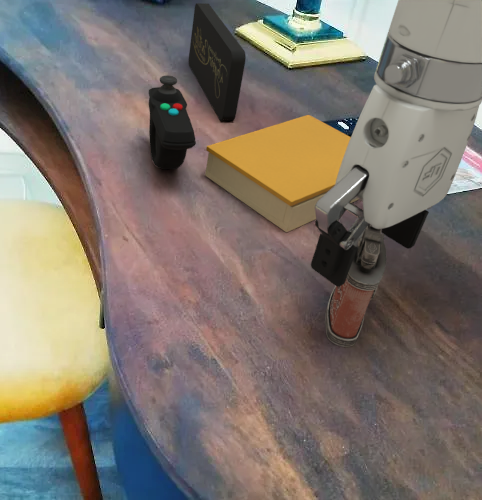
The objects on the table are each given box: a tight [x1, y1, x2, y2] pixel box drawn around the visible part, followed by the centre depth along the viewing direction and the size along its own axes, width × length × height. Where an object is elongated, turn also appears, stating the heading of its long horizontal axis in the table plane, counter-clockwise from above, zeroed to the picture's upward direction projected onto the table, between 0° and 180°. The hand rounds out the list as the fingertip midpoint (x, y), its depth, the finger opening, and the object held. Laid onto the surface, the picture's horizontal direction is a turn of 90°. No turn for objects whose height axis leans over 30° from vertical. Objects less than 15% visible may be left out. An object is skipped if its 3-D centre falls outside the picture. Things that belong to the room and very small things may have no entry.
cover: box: [205, 114, 351, 206], centre depth 77 cm, size 18×14×1 cm
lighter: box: [324, 224, 387, 348], centre depth 58 cm, size 8×3×10 cm, turn 162°
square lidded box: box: [204, 152, 360, 233], centre depth 78 cm, size 18×14×3 cm
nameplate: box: [188, 2, 247, 121], centre depth 95 cm, size 21×2×10 cm, turn 10°
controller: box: [148, 75, 197, 170], centre depth 77 cm, size 4×12×10 cm, turn 8°
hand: (363, 257), depth 56 cm, fingers open, 9 cm apart
